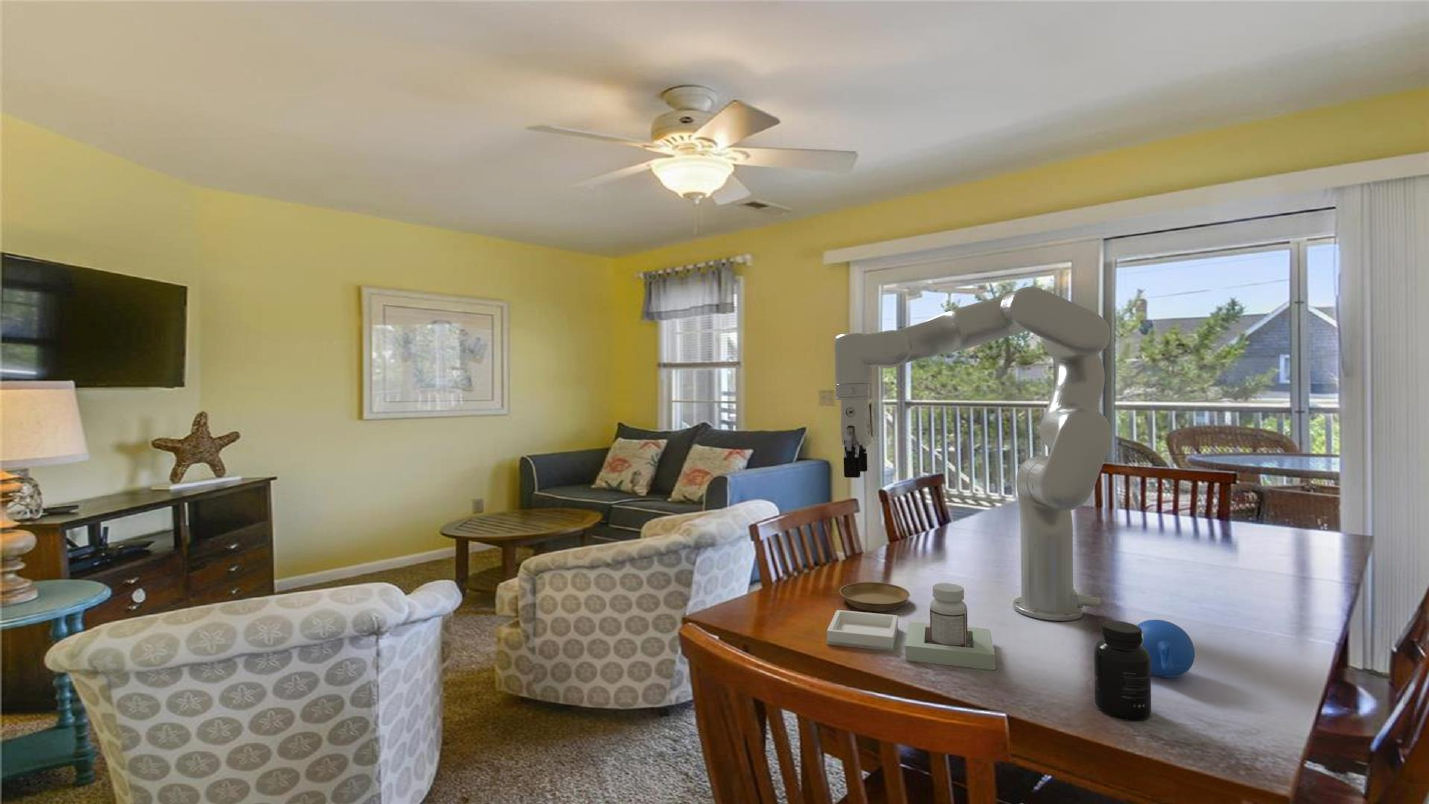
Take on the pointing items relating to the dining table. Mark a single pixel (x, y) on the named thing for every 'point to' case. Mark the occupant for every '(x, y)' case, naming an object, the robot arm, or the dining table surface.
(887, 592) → the plant saucer
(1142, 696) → the supplement bottle
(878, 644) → the tray
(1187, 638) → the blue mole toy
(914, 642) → the socket holder
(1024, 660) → the dining table surface
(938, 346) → the robot arm
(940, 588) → the pill bottle
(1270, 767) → the dining table surface
